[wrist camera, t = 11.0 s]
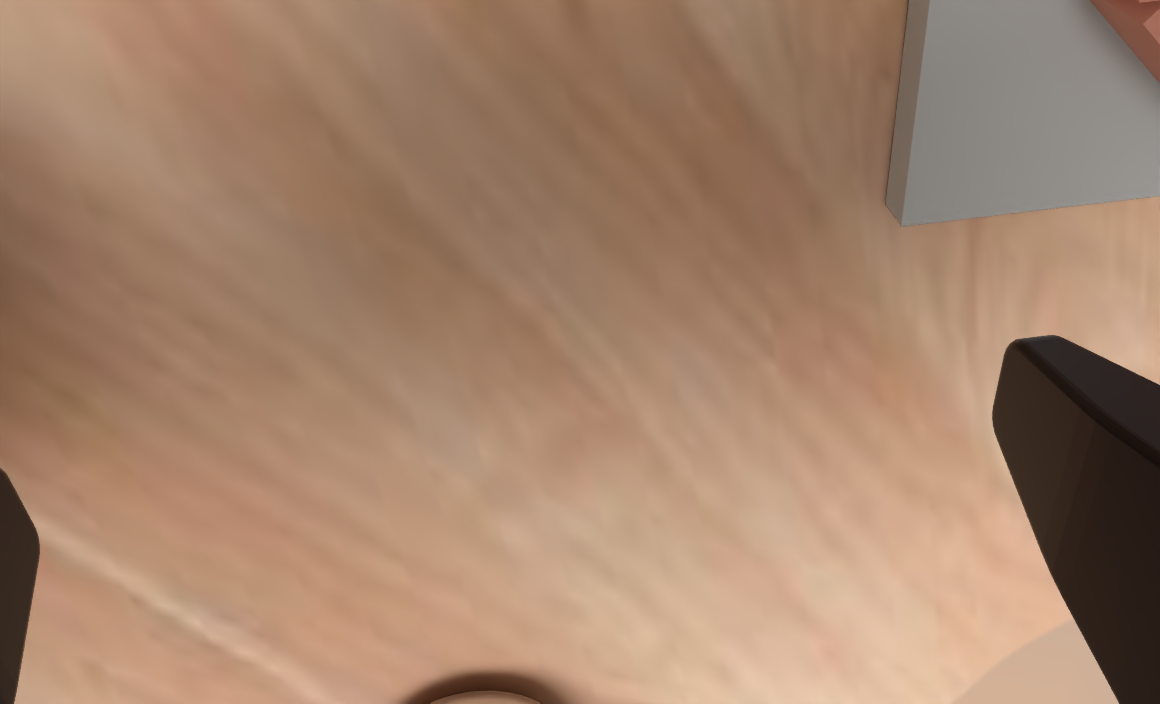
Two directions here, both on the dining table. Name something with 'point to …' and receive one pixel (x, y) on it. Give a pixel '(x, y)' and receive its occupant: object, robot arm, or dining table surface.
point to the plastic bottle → (486, 698)
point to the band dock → (1025, 107)
